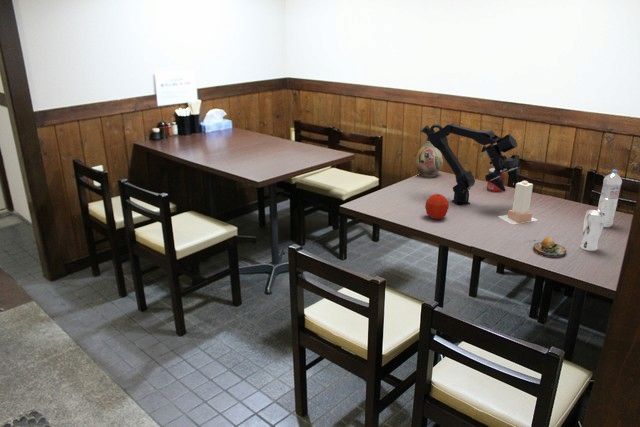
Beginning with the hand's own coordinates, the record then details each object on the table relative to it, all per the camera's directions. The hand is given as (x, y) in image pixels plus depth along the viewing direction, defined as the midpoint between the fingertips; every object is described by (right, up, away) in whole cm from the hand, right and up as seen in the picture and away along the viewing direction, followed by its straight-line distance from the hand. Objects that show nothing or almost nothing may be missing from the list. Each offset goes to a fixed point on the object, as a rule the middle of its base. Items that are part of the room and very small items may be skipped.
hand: (511, 187), depth 232 cm
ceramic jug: (-24, +10, +62) cm, 67 cm away
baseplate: (+2, -15, -3) cm, 15 cm away
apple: (-34, -14, +1) cm, 37 cm away
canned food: (+5, 0, +37) cm, 37 cm away
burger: (+3, -27, -32) cm, 42 cm away
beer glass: (+20, -25, -30) cm, 44 cm away
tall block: (+2, -11, -6) cm, 12 cm away
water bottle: (+38, -17, -8) cm, 42 cm away
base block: (+2, -14, -4) cm, 15 cm away
